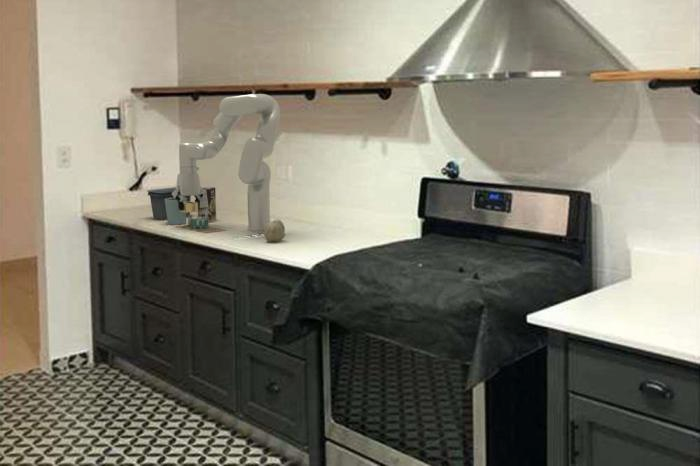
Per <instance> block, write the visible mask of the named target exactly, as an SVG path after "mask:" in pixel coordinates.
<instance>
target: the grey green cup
mask: <svg viewBox="0 0 700 466" xmlns="http://www.w3.org/2000/svg"><path fill="white" fill-rule="evenodd" d="M182 202H186V198H183V200H182ZM165 206H166V213H167V218H168V219H166V220H167V224H168V225H170V226H183V225H187V217H186V212H181V210H179V208H178V201H177V200H176V199H175V198H167V199H165Z"/></svg>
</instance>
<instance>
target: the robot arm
mask: <svg viewBox="0 0 700 466" xmlns="http://www.w3.org/2000/svg"><path fill="white" fill-rule="evenodd" d="M280 109H281V108H280V105H279V103H278V102H277V101H276V100H275V98H274V97H272V96H271V95H268V94H265V93H253V94H252V93H251V94H250V93H249V94H242V95H234V96H227V97H224V98H223V99H222V100H221V101H220V103H219V113H218V114H217V116H216V117H215V118H214V120H213V121H212V123H213V127H214V131H213V133H212V134H211V136H210V137H209V138H208V140H206V141H202V142H197V143H194V142H181V143H180V144H179V145H178V152H179V153H178V159H179V160H178V161H179V173H177V178H176V184H175V185H176V186H175V187H176V190H174V191H173V192H172V195H173V196H174V198H175V199H176V200H177V201H178V208H179V210H181V211H183V210H184V203H183V202H182V200H183V198H184V196H191V197H192V196H193V197H194V198H195V199H194V202H198V209H200V200H201V198H202V197H203V194H204V193H205V190H204V189H203V188H204V187H201V181H200V176H199V173H198V171H199V169H200V167H199V166H197V160H198V161H203V160H209V159H213V158H215V157H216V156H217V155H218V154H219V153H220V152H221V150H222V149H223V147H225V145H226V143H227V141H228V139H229V135H230V133H231V132H232V130H233V129H234V127H235V126H236V125H237V124H238V122H239V121H240V120H241V118H242V117H243V116H252V115H261V117H260V120H259V122H258V123H257V128H256V134H255V136H254V137H250V138H249V139H247V141H246V142H245V143H244V145H243V148H242V152H241V156H240V161H239V165H238V172H237V173H238V178H239V180H240V181H241V182H242V183H244V184H245V185H247V220H248V221H247V222H248V225H247V226H248V231H252V232H261V233H259V235H263V234H262V233H263V232H264V228H265V226H266V225H267V224H268V223H269V222H271V210H270V208H271V206H270V182H271V176H272V175H271V173H272V171H271V168H270V166H269V164H268V163H267V162H266V161H264V160H263V159H267V158H269V157H270V156H271V155H272V154H273V151H274V149H275V147H274V146H275V142H276V138H277V131H278V127H279V124H280V120H281V119H280V118H281V110H280ZM200 191H201V193H200ZM177 195H179V196H177Z"/></svg>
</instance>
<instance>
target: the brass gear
mask: <svg viewBox="0 0 700 466" xmlns="http://www.w3.org/2000/svg"><path fill="white" fill-rule="evenodd" d="M183 203H184V210H183V211H181V212H189V213H190V214H191V213H198V202H195V201H190V202H183Z"/></svg>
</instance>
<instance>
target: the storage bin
mask: <svg viewBox="0 0 700 466" xmlns="http://www.w3.org/2000/svg"><path fill="white" fill-rule="evenodd" d="M174 190H176V186H175V187H174V186H173V187H165V188H155V189H148V190H146V192H147V196H149V198H150V206H151V212H152V217H153V219H155V220H159V221H166V220H167V219H168V218H167V213H166V206H165V199H167V198H174V196H173V195H172V192H173V191H174ZM177 196H179V195H177ZM191 197H192V196H184V198H186V202H191ZM188 215H191V213H189V212H186V218H188Z"/></svg>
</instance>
